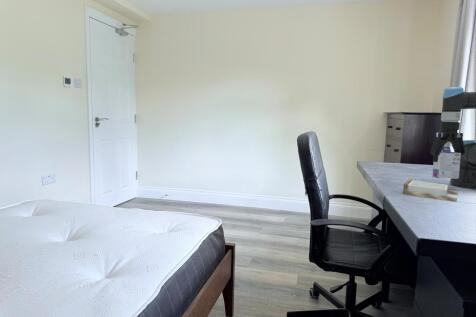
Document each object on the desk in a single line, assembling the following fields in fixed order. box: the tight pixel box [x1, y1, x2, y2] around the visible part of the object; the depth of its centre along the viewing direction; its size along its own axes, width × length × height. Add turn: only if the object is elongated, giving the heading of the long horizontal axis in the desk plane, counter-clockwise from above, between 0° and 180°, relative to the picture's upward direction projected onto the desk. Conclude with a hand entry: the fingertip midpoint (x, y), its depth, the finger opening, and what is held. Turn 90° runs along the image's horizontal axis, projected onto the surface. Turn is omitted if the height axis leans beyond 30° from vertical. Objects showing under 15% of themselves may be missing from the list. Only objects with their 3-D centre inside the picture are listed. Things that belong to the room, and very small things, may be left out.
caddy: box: [407, 179, 449, 196], centre depth 143 cm, size 14×14×4 cm
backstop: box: [402, 178, 459, 202], centre depth 143 cm, size 20×16×4 cm
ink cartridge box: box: [432, 146, 461, 179], centre depth 152 cm, size 10×6×14 cm, turn 89°
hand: (445, 168), depth 153 cm, fingers closed on ink cartridge box, 10 cm apart
